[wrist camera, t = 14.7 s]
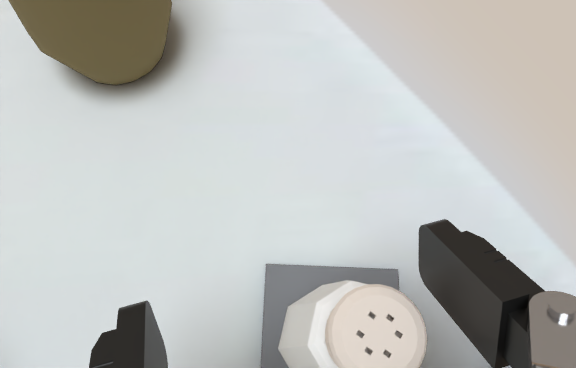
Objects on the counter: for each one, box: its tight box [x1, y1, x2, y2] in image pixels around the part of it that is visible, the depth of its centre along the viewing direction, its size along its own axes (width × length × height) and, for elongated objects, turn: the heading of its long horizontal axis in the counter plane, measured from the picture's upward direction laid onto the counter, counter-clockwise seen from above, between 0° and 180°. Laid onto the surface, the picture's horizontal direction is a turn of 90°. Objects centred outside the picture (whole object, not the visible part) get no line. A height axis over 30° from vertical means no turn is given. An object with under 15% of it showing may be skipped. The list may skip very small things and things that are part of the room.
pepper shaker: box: [278, 280, 427, 368], centre depth 18 cm, size 5×5×11 cm
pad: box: [261, 264, 399, 368], centre depth 23 cm, size 7×7×1 cm
